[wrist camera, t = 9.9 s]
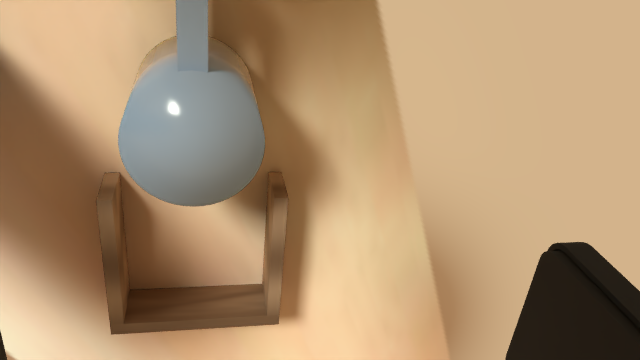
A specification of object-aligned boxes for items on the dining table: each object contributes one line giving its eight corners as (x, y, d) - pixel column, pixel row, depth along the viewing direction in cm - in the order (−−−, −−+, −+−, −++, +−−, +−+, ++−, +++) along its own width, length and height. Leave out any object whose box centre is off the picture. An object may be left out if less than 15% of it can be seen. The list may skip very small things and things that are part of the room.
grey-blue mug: (125, -62, 33) (102, -45, 25) (258, -51, 35) (274, -31, 27) (139, 142, 39) (123, 207, 31) (250, 143, 41) (261, 205, 33)
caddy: (105, 172, 40) (95, 200, 36) (281, 172, 42) (288, 198, 39) (118, 300, 45) (111, 334, 42) (273, 292, 48) (278, 324, 45)
